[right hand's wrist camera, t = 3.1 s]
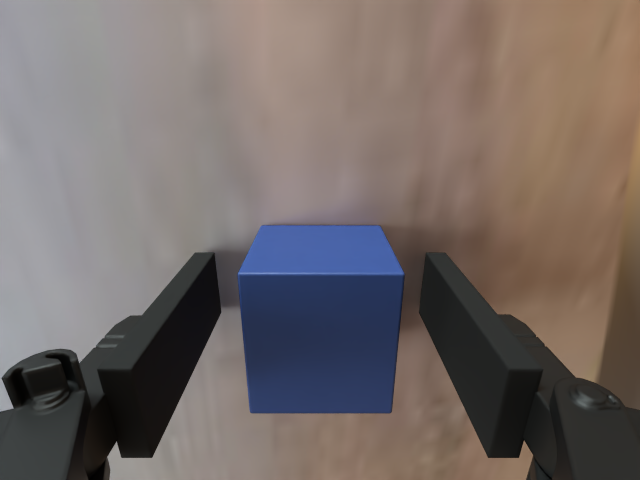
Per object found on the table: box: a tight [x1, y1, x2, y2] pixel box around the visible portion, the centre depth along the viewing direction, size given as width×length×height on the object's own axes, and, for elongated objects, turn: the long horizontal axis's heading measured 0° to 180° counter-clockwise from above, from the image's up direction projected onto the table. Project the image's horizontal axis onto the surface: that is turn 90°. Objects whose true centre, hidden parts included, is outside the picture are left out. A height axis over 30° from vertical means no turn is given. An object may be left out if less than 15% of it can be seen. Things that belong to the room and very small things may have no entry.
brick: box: [238, 225, 405, 413], centre depth 13 cm, size 5×5×4 cm
